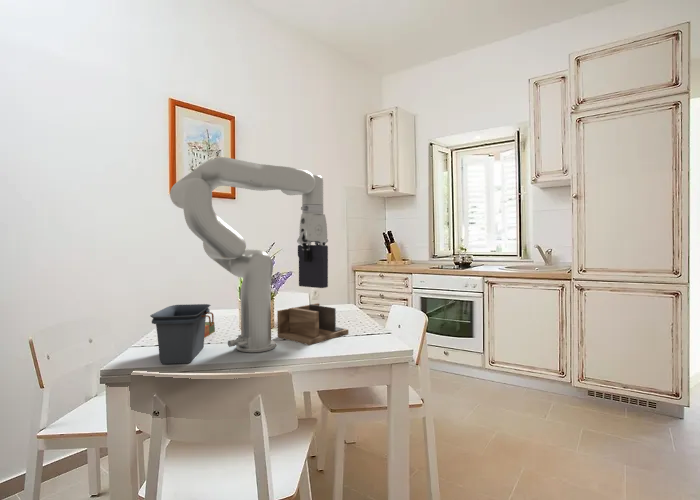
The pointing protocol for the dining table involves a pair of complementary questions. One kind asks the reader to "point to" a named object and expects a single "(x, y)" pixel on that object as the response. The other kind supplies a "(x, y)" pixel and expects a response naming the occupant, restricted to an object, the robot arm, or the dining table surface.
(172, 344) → the storage bin
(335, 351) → the dining table surface
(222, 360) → the dining table surface
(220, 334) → the dining table surface
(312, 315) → the wooden desk organizer
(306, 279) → the black upright block
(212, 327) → the green handled box
